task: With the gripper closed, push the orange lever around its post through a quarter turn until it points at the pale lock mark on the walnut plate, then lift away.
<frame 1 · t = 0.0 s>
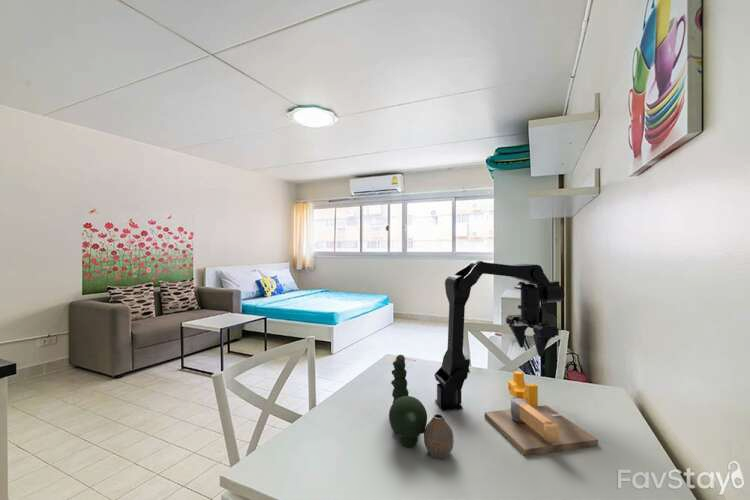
hand: (530, 351, 108), 15 cm above the table, tool pointing down, fingers open, 9 cm apart
mount plate: (536, 430, 88), on the table
vase: (438, 454, 79), on the table
toy figurine: (405, 431, 88), on the table
latch lever: (533, 418, 85), point 5 cm above the table, hinge at 0.0°
pipe clamp: (522, 399, 107), on the table
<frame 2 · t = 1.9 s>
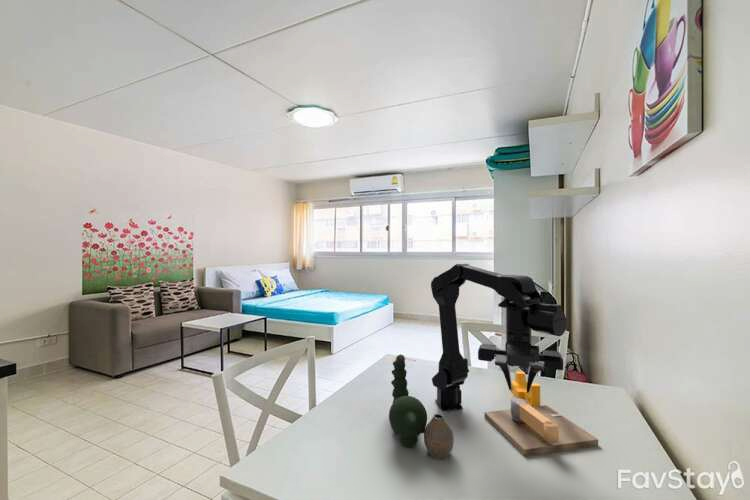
hand: (518, 390, 82), 13 cm above the table, tool pointing down, fingers open, 4 cm apart
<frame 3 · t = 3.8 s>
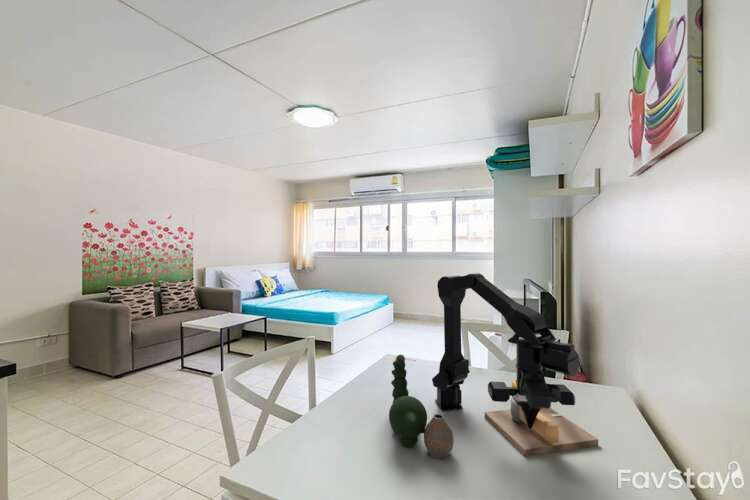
hand: (529, 427, 82), 4 cm above the table, tool pointing down, fingers closed
latch lever: (533, 418, 85), point 5 cm above the table, hinge at 0.1°, touching gripper
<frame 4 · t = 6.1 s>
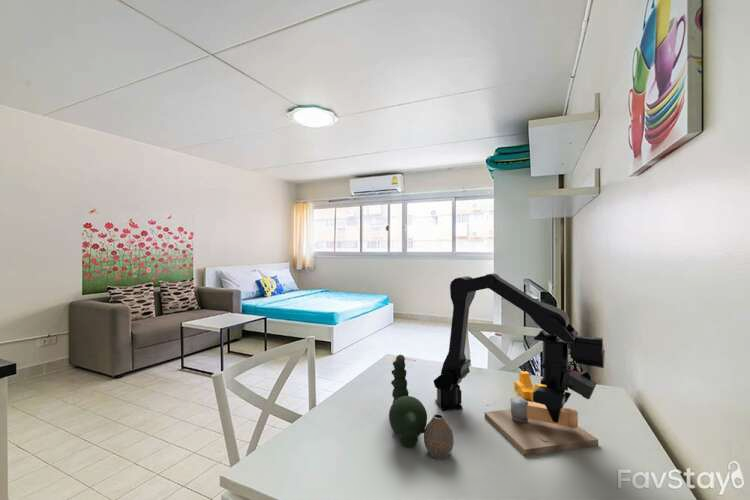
hand: (555, 422, 84), 4 cm above the table, tool pointing down, fingers closed
latch lever: (542, 412, 88), point 5 cm above the table, hinge at 52.2°, touching gripper
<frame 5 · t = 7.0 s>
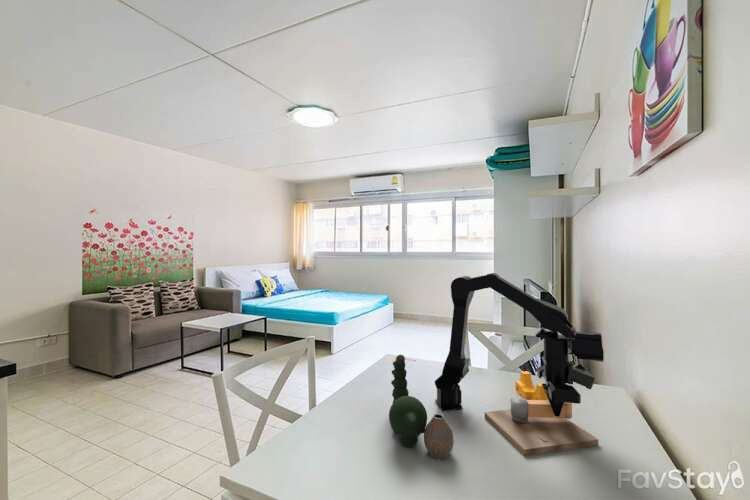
hand: (557, 416, 87), 4 cm above the table, tool pointing down, fingers closed
latch lever: (541, 408, 90), point 5 cm above the table, hinge at 75.3°, touching gripper
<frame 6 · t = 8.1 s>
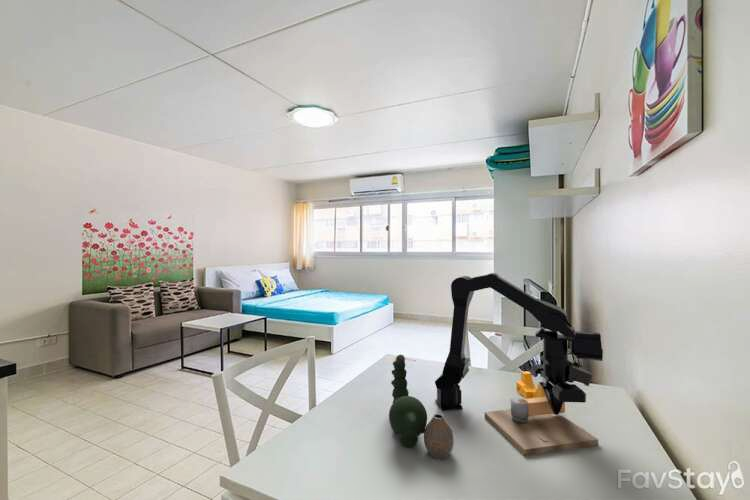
hand: (555, 413, 88), 4 cm above the table, tool pointing down, fingers closed
latch lever: (538, 406, 91), point 5 cm above the table, hinge at 89.4°
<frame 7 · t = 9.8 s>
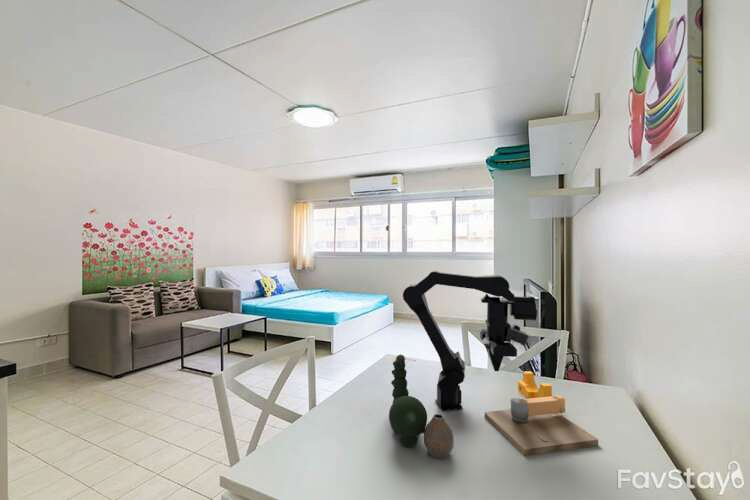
hand: (496, 370, 99), 12 cm above the table, tool pointing down, fingers closed
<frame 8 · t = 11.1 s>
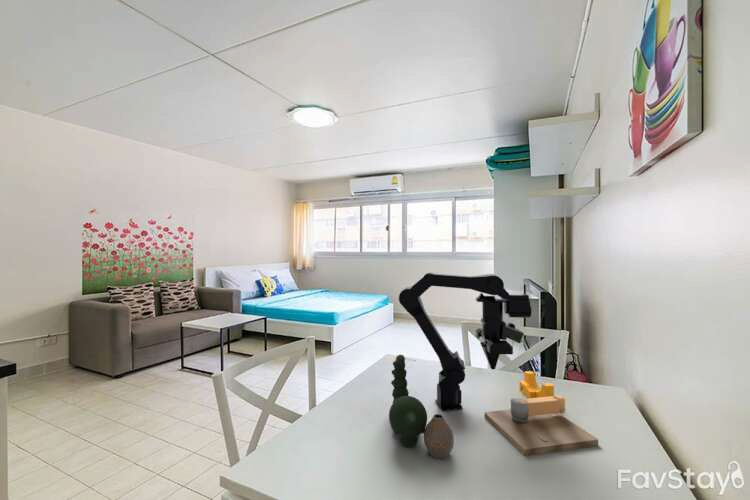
hand: (492, 368, 100), 12 cm above the table, tool pointing down, fingers closed
at the end: latch lever at +89° (first picture: +0°); the gripper is holding nothing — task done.
